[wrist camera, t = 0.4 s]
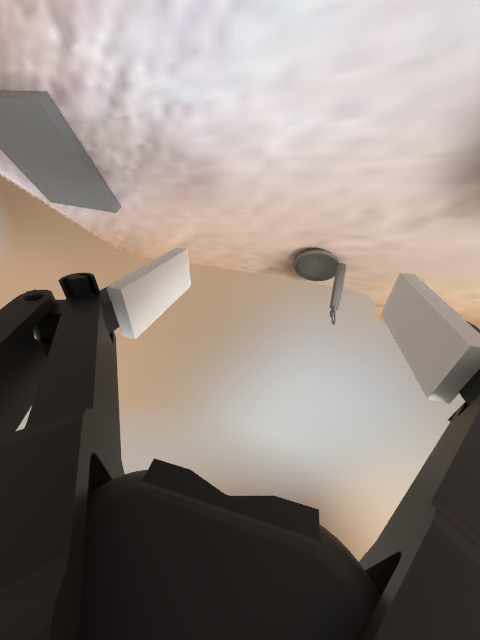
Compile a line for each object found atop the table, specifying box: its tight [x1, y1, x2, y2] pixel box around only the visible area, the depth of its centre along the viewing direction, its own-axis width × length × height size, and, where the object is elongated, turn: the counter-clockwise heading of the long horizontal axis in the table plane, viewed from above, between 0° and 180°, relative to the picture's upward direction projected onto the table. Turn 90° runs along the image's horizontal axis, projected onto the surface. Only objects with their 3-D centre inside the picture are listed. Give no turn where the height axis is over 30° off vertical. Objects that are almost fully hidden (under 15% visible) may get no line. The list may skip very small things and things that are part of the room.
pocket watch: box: [294, 249, 346, 325], centre depth 32 cm, size 8×8×10 cm
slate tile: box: [0, 91, 121, 213], centre depth 31 cm, size 14×14×2 cm
